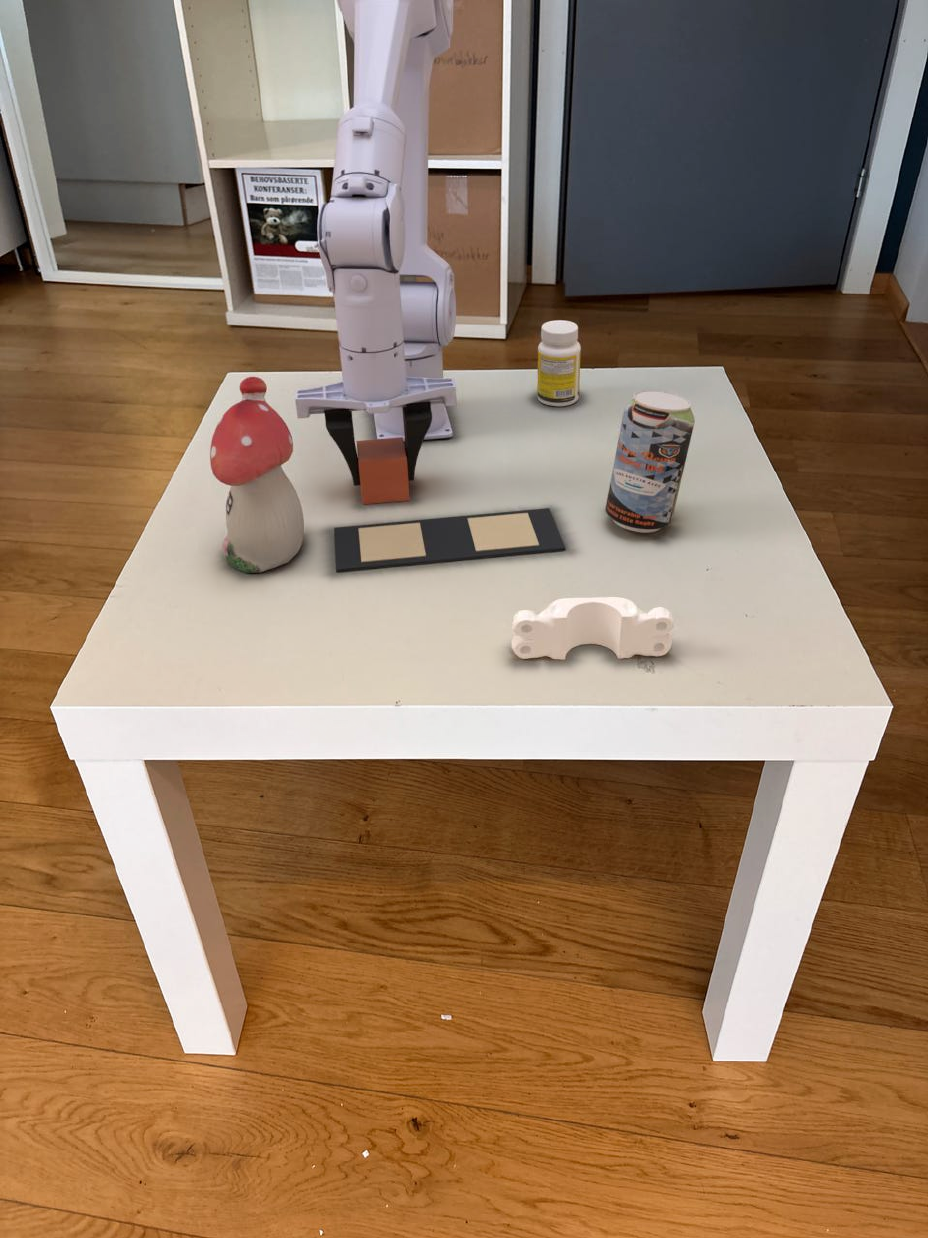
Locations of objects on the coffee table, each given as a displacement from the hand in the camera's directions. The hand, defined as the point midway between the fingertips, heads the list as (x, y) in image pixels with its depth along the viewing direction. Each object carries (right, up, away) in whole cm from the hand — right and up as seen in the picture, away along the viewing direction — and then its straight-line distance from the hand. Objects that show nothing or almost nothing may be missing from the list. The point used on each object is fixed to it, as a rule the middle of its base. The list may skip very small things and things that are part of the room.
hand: (383, 478), depth 94 cm
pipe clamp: (+17, -16, -20) cm, 31 cm away
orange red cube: (0, -1, +1) cm, 1 cm away
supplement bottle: (+18, +11, +17) cm, 28 cm away
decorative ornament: (-10, -8, -7) cm, 14 cm away
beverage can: (+24, -5, -5) cm, 25 cm away
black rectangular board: (+6, -7, -7) cm, 11 cm away
